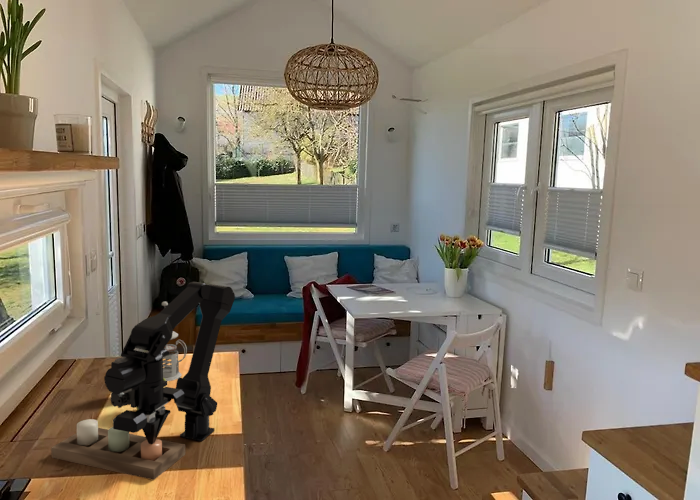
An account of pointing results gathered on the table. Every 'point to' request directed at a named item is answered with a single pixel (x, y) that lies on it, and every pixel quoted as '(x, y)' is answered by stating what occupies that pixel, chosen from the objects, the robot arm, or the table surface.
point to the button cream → (87, 432)
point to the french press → (172, 358)
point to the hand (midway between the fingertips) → (151, 443)
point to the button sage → (118, 440)
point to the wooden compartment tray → (119, 455)
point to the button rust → (151, 450)
